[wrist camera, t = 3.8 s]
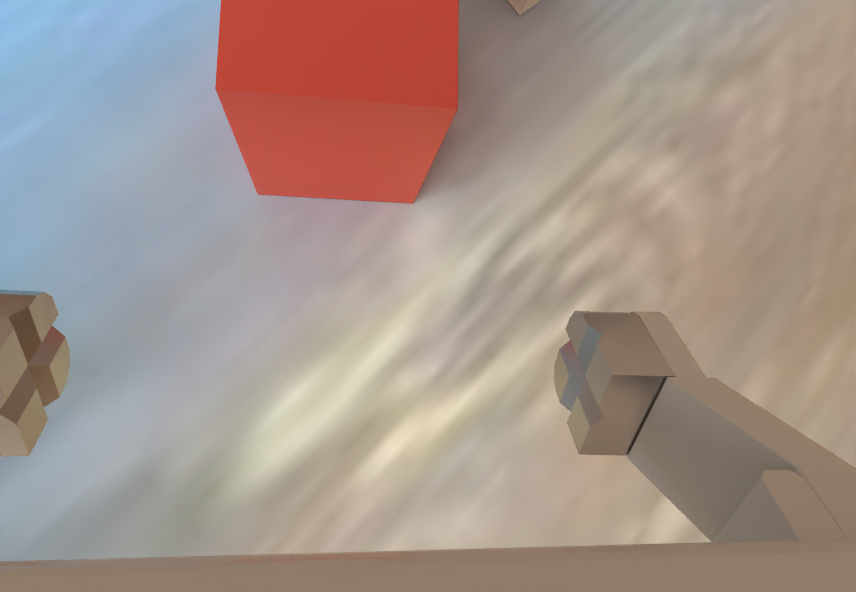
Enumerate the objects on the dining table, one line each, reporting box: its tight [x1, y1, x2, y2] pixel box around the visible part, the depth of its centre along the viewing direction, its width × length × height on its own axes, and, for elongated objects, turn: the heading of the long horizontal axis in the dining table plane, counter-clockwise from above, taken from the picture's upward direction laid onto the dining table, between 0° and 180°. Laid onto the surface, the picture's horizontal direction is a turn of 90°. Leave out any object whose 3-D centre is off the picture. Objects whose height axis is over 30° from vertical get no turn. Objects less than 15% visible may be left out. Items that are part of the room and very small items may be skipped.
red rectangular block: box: [216, 0, 459, 203], centre depth 18 cm, size 6×6×8 cm
